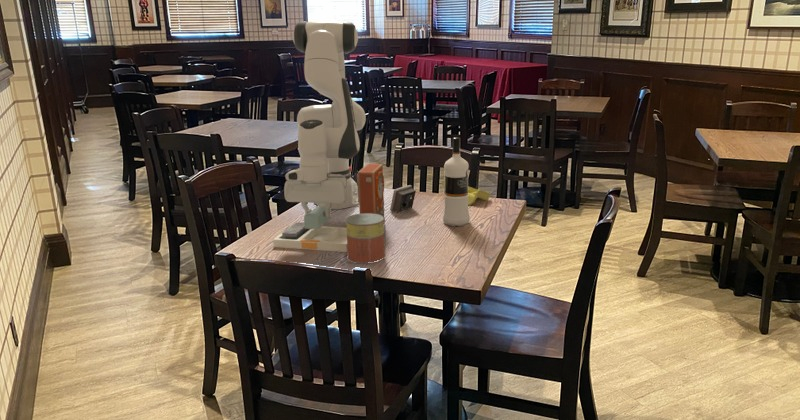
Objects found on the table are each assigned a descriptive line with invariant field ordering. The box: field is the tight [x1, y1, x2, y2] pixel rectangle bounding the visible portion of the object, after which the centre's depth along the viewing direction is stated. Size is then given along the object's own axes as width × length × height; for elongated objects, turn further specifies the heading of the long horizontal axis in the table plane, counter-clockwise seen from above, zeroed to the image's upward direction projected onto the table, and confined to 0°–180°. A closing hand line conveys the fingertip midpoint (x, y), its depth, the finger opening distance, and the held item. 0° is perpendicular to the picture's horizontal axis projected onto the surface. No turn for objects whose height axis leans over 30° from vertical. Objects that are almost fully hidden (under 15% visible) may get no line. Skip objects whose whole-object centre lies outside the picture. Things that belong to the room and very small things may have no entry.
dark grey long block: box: [281, 222, 309, 240], centre depth 195 cm, size 11×4×4 cm, turn 166°
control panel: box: [356, 163, 386, 222], centre depth 203 cm, size 21×7×15 cm
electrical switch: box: [389, 184, 417, 214], centre depth 225 cm, size 9×5×9 cm, turn 138°
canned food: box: [345, 213, 386, 264], centre depth 179 cm, size 11×11×12 cm
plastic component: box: [443, 177, 491, 206], centre depth 240 cm, size 20×7×10 cm
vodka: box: [442, 136, 471, 227], centre depth 206 cm, size 9×9×30 cm
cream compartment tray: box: [272, 225, 348, 254], centre depth 193 cm, size 16×24×3 cm, turn 76°
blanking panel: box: [303, 205, 332, 229], centre depth 191 cm, size 11×4×4 cm, turn 166°
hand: (317, 215), depth 191 cm, fingers closed on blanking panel, 4 cm apart
